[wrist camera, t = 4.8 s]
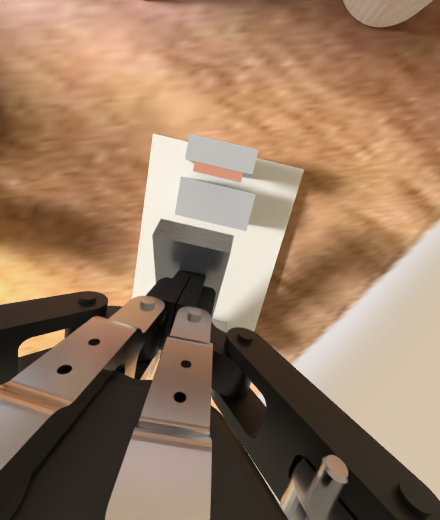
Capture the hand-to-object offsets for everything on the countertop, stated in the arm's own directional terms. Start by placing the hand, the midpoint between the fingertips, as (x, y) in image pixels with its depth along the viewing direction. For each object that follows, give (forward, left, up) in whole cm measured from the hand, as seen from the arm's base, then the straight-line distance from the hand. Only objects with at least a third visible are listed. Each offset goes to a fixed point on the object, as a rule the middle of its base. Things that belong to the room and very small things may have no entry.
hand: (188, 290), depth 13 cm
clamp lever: (+3, 0, -5) cm, 6 cm away
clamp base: (+2, 0, -13) cm, 14 cm away
